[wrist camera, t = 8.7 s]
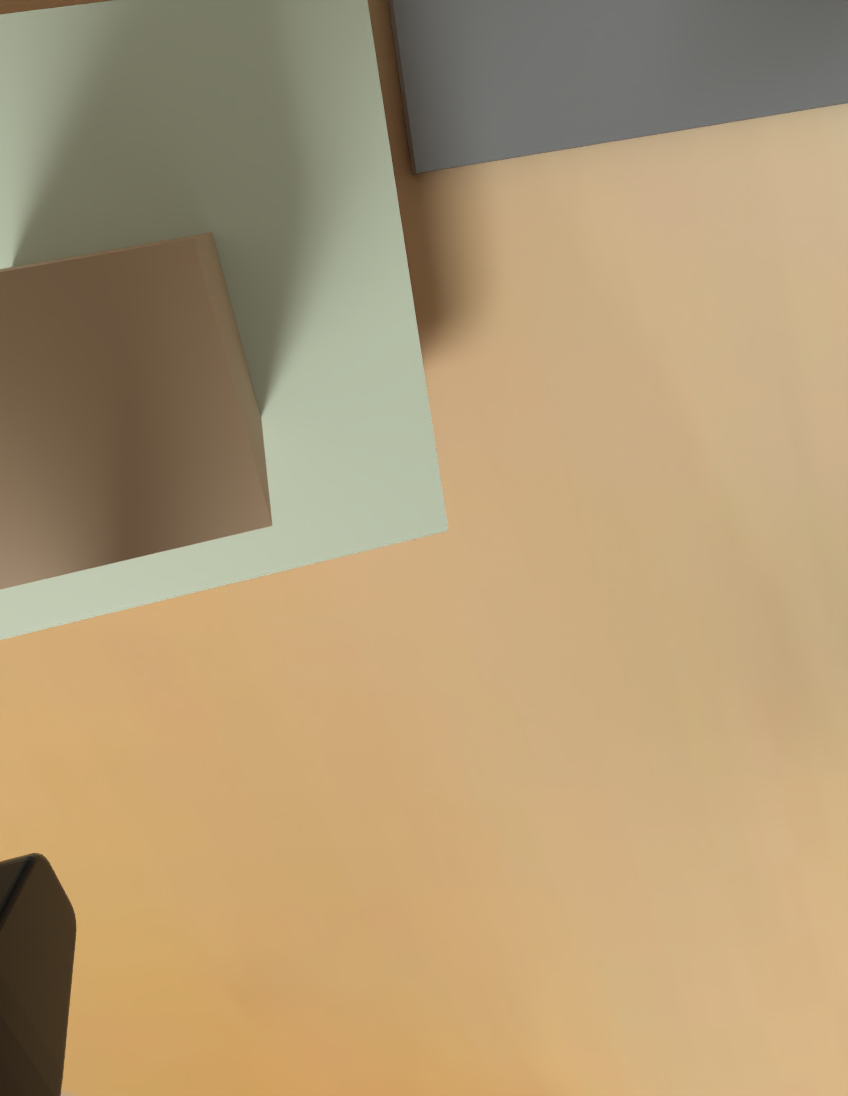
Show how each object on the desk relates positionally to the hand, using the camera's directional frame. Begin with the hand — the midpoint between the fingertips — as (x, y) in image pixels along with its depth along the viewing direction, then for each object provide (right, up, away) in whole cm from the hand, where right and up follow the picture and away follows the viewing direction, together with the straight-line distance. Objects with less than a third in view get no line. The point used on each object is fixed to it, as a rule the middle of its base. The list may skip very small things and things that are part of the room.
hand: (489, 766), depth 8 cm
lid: (-5, +6, +5) cm, 9 cm away
